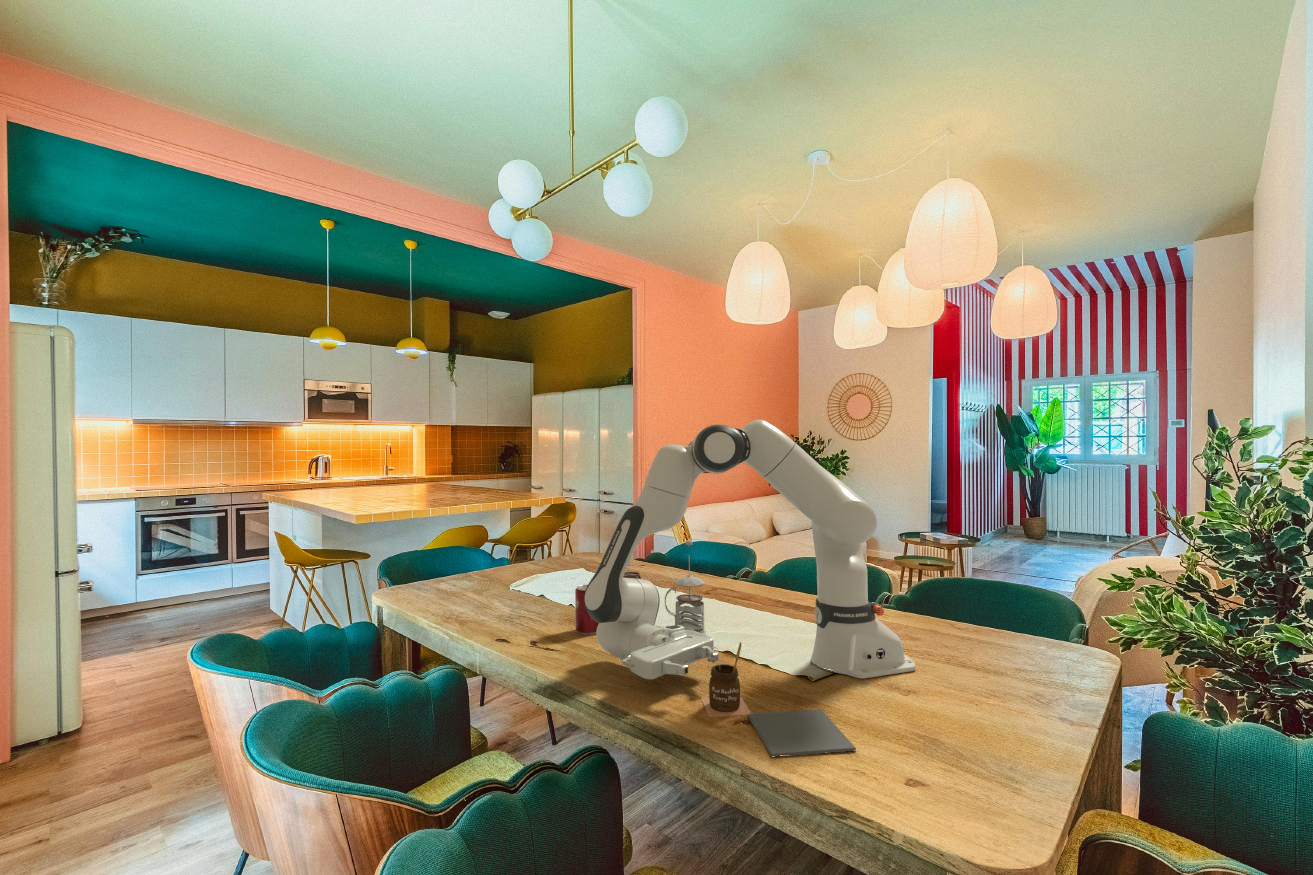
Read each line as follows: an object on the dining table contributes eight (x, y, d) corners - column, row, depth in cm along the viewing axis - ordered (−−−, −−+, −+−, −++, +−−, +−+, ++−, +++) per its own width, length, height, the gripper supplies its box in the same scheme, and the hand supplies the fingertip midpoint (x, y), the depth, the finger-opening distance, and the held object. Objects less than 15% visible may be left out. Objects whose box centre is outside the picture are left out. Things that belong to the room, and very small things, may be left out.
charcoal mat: (820, 712, 107) (820, 709, 107) (855, 751, 93) (855, 747, 93) (747, 717, 105) (747, 713, 105) (772, 757, 91) (772, 753, 91)
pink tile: (740, 696, 114) (740, 695, 114) (751, 715, 106) (751, 713, 106) (700, 699, 113) (700, 698, 113) (709, 717, 105) (709, 716, 105)
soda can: (570, 633, 154) (570, 588, 155) (583, 625, 161) (583, 583, 161) (594, 636, 152) (594, 591, 152) (606, 628, 158) (606, 585, 159)
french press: (709, 639, 149) (708, 543, 149) (664, 639, 149) (664, 543, 149) (706, 628, 158) (705, 537, 159) (664, 628, 158) (664, 537, 159)
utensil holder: (708, 698, 113) (707, 637, 113) (740, 699, 113) (739, 637, 113) (710, 712, 107) (709, 647, 107) (743, 712, 107) (743, 648, 107)
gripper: (616, 645, 117) (665, 662, 107) (684, 623, 131) (732, 636, 122) (617, 676, 117) (665, 696, 107) (684, 650, 131) (733, 666, 121)
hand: (701, 664), depth 114 cm, fingers open, 8 cm apart
